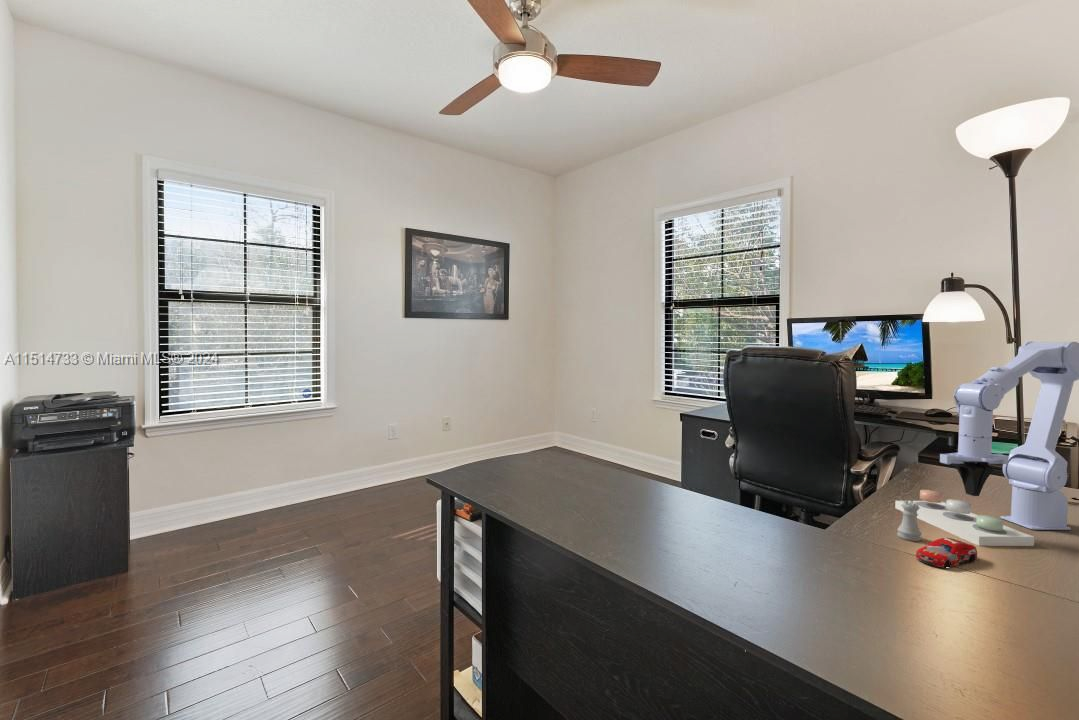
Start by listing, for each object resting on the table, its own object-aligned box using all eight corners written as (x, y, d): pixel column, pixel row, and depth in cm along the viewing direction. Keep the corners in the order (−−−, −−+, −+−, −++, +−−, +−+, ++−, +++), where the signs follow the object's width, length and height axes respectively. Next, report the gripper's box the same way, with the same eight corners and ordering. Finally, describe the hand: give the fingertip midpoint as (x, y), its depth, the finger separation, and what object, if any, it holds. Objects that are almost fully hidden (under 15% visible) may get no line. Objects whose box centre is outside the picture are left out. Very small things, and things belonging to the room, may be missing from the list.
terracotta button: (932, 497, 128) (932, 489, 128) (946, 502, 123) (946, 494, 123) (915, 497, 128) (915, 489, 127) (929, 502, 123) (929, 494, 123)
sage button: (989, 524, 112) (990, 515, 112) (1008, 531, 107) (1009, 522, 107) (970, 523, 112) (971, 515, 112) (988, 531, 107) (989, 522, 107)
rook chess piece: (926, 543, 106) (927, 506, 106) (902, 541, 107) (904, 504, 107) (915, 535, 111) (916, 499, 111) (892, 533, 112) (894, 498, 111)
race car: (940, 572, 93) (941, 551, 93) (909, 560, 98) (910, 540, 98) (983, 562, 98) (984, 542, 98) (952, 551, 103) (953, 532, 103)
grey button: (959, 507, 120) (959, 499, 120) (975, 513, 115) (976, 505, 115) (941, 507, 120) (941, 499, 119) (957, 513, 115) (957, 505, 115)
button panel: (940, 508, 130) (940, 500, 130) (1033, 546, 106) (1034, 535, 106) (895, 508, 129) (895, 499, 129) (978, 545, 105) (979, 535, 105)
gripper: (960, 439, 109) (957, 500, 109) (1023, 439, 110) (1020, 500, 110) (933, 433, 116) (930, 490, 117) (992, 433, 117) (990, 490, 117)
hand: (972, 494), depth 114 cm, fingers closed
